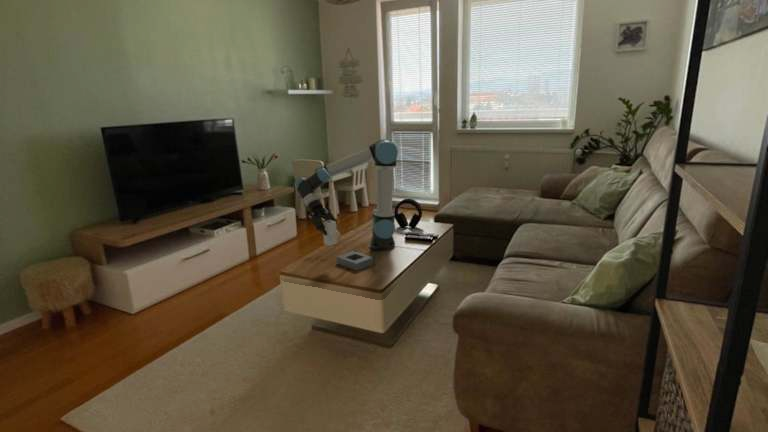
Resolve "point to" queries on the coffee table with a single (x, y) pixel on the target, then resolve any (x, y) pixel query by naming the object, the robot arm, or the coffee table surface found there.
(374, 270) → the coffee table surface
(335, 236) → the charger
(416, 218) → the headphones
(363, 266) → the block
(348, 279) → the coffee table surface
